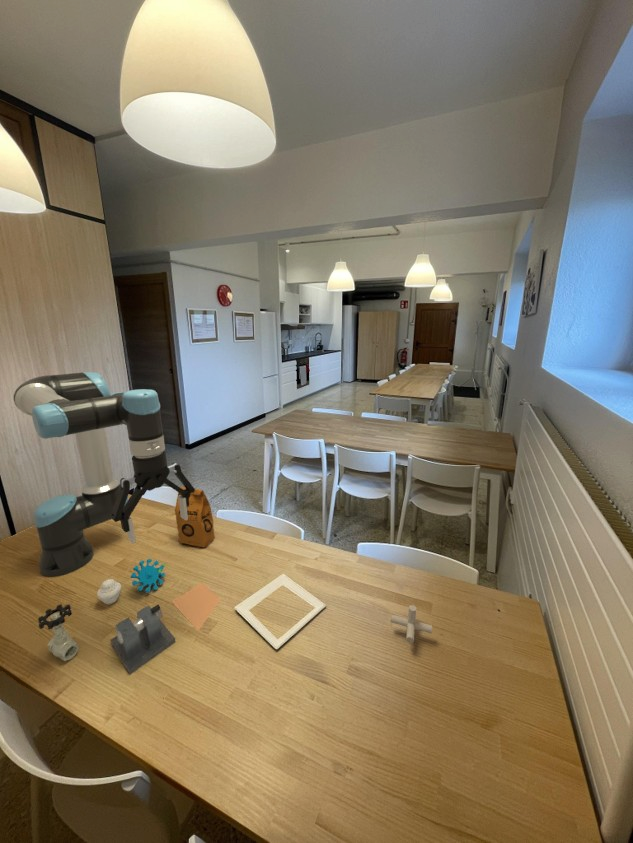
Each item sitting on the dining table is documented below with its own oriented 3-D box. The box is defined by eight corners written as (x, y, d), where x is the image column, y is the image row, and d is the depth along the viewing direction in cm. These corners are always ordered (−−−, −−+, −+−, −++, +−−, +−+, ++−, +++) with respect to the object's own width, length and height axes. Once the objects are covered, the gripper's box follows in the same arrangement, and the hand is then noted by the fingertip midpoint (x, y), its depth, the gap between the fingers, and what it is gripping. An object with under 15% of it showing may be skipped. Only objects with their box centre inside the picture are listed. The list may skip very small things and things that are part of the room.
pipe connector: (430, 628, 89) (433, 598, 86) (429, 662, 80) (433, 630, 77) (392, 618, 92) (394, 588, 89) (387, 650, 83) (390, 618, 80)
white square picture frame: (326, 610, 95) (326, 604, 94) (276, 655, 82) (276, 649, 81) (283, 578, 107) (283, 572, 107) (234, 612, 94) (233, 606, 93)
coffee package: (202, 552, 119) (196, 497, 113) (175, 544, 123) (168, 491, 117) (219, 536, 128) (214, 485, 122) (193, 530, 132) (187, 480, 126)
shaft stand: (111, 644, 84) (105, 618, 82) (155, 616, 92) (151, 592, 90) (130, 675, 77) (124, 647, 75) (175, 642, 85) (171, 616, 83)
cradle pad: (171, 602, 97) (171, 601, 97) (202, 583, 105) (202, 582, 104) (198, 631, 88) (198, 630, 88) (230, 608, 95) (230, 607, 95)
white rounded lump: (95, 610, 95) (91, 590, 93) (104, 594, 100) (100, 574, 98) (119, 606, 96) (115, 586, 94) (126, 590, 102) (122, 571, 100)
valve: (57, 671, 78) (46, 630, 74) (42, 659, 80) (30, 620, 77) (86, 647, 83) (77, 609, 80) (71, 637, 86) (61, 600, 83)
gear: (141, 597, 96) (126, 567, 99) (133, 605, 99) (119, 575, 101) (174, 578, 106) (159, 551, 108) (166, 585, 109) (152, 558, 111)
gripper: (95, 473, 69) (112, 559, 75) (203, 443, 87) (210, 514, 93) (84, 464, 74) (101, 545, 80) (188, 437, 92) (196, 505, 98)
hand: (159, 529), depth 86 cm, fingers open, 13 cm apart
